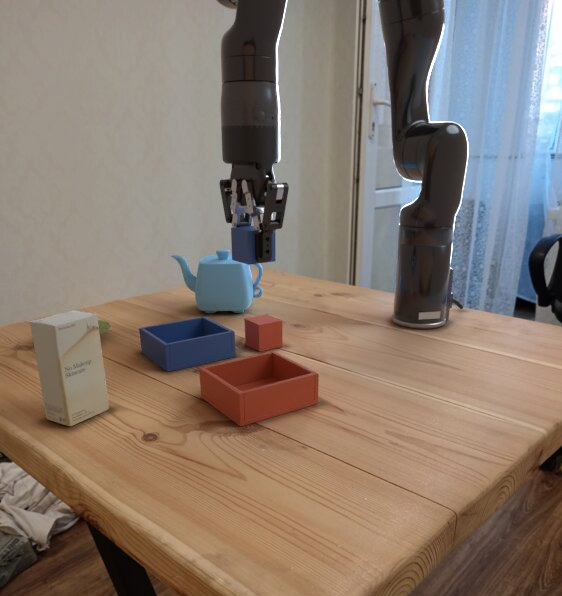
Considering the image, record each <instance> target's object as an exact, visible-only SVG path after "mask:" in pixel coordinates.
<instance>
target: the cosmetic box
mask: <svg viewBox="0 0 562 596" xmlns="http://www.w3.org/2000/svg"><path fill="white" fill-rule="evenodd" d="M98 320H99V318H98V314H97V313H94V312H93V313H92V312H87V311H83V310H76V309H72V310H67V311H64V312H61V313H56V314H51V315H49V316H45V317H40V318H38V319H34V320H30V321H29V325H30V331H31V336H32V340H33V341H32V343H33V348H34V353H35V354H34V355H35V360H36V365H37V371H38V376H39V382H40V387H41V394H42V395H41V396H42V400H43V406H44V412H45V418H46V420H48V421H51V422H55V423H56V424H59V425H63V426H66V427H73V426H75V425H78V424H80V423H82V422H83V421H87V420H89V419H91V418H93V417H95V416H97V415H101V414H103V413H104V412H106V411H108V410H109V409H110V404H109V397H108V389H107V382H106V373H105V367H104V366H105V365H104V359H103V349H102V342H101V335H100V334H101V333H100V334H99V327H98Z"/></svg>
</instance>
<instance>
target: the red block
mask: <svg viewBox="0 0 562 596" xmlns="http://www.w3.org/2000/svg"><path fill="white" fill-rule="evenodd" d="M244 342H245V343H244V344H245V345H246V346H247V347H250V348H252V349H254V350H255V351H257V352H264V351H265V352H266V351H268V350H274V349H277V348H282V347H283V320H282V319H281V318H278V317H275V316H273V315H271V314H268V313H266V314H262V315H255V316H250V317H246V318H244Z"/></svg>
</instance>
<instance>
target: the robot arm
mask: <svg viewBox="0 0 562 596" xmlns="http://www.w3.org/2000/svg"><path fill="white" fill-rule="evenodd" d="M215 1H216V2H217V3H218V4H220V5H221V6H223V8H227V9H229V10H235V18H234V21H233V24H232V25H231V26H230V27H229V28H228V29H227V30H226V31H225V32H224V34H223V35H222V37H221V41H220V70H221V71H220V72H221V91H220V92H221V93H220V130H221V156H222V159H221V160H222V161H223V163H225V164H227V165H231V171H230V175H229V178H226V179H219V182H218V183H219V184H218V185H219V190H220V195H221V201H222V208H223V213H224V218H225V222H226V223H227V224H231V228H233V227H245V226H252V223H253V226H254V229H255V232H256V234H255V259H256V261H257V262H266V263H269V262H268V261H270V260H271V258H272V232H274V231H275V232H276V230H280V229H282V228H283V225H284V220H285V213H286V207H287V203H288V196H289V190H290V189H289V188H290V187H289V184H288V183H287V182H279V181H278V180H276V176H275V173H274V167H273V166H274V165H275V164H278V163H279V162H280V161H281V101H280V100H281V99H280V92H279V54H278V53H279V52H278V48H279V42H280V37H281V34H282V31H283V25H284V20H285V15H286V10H287V5H288V0H215ZM377 4H378V11H379V19H380V27H381V33H382V40H383V44H384V51H385V61H386V69H387V71H386V72H387V79H388V81H387V82H388V88H389V101H390V102H389V103H390V124H391V127H390V128H391V146H392V148H391V149H392V159H393V163H394V167H395V168H396V171H397V173H398V174H399V176H400V177H401V178H403V179H404V180H406V181H409V182H414V183H420V189H419V194H418V196H417V197H416V199H415V200H414V201H412V202H410V203H408V204H405V205H403V206H402V207H401V209H400V210H399V211H400V212H399V216H398V217H399V220H398V233H397V236H398V237H397V250H396V254H397V255H396V266H395V267H396V268H395V281H394V283H395V284H394V299H393V310H392V322H393V323H394V324H396V325H398V326H401V327H404V328H411V329H437V328H440V327H443V326H444V325H445V324H446V322H449V319H450V310H451V309H452V307H453V304H455V305H456V306H457V308H459V310H463V309H464V306H463V304H462V303H461V302H460V301H458V299H455V298H454V293H453V292H452V290H453V281H454V269H453V268H452V267H451V263H452V256H453V255H452V254H453V244H454V233H455V222H456V216H457V215H458V213H459V210H460V207H461V205H462V202H463V201H462V200H463V194H464V186H465V181H466V174H467V169H468V168H467V167H468V160H469V141H468V136H467V133H466V131H465V129H464V128H463V126H461V124H459V123H457V122H454V121H431V120H430V114H429V113H430V112H429V101H428V89H429V82H430V81H429V80H430V76H431V72H432V69H433V66H434V63H435V61H436V57H437V54H438V52H439V49H440V45H441V42H442V39H443V35H444V30H445V23H446V15H445V14H446V12H445V10H446V9H445V0H377ZM274 214H275V218H274ZM261 216H262V218H261Z"/></svg>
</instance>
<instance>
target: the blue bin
mask: <svg viewBox="0 0 562 596" xmlns="http://www.w3.org/2000/svg"><path fill="white" fill-rule="evenodd" d="M138 332H139V341H140V342H139V343H140V350H141V352H140V353H141V354H142V355H144V356H145V357H147V358H148V359H149V360H151V361H152V362H153V363H154V364H156V365H157V366H159V367H160V368H161V369H163V370H164V371H165V372H167V373H170V372H174V371H178V370H182V369H187V368H193V367H196V366H200V365H206V364H210V363H215V362H219V361H224V360H227V359H232V358H235V357H236V335H235V331H234V330H233V329H231V328H229V327H227V326H225V325H223V324H220V323H218V322H217V321H214V320H212V319H211V318H208V317H206V316H199V317H192V318H187V319H182V320H181V319H180V320H175V321H170V322H164V323H159V324H154V325H153V324H152V325H147V326H142V327H138Z"/></svg>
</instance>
